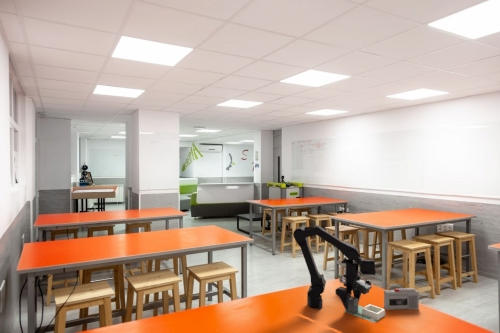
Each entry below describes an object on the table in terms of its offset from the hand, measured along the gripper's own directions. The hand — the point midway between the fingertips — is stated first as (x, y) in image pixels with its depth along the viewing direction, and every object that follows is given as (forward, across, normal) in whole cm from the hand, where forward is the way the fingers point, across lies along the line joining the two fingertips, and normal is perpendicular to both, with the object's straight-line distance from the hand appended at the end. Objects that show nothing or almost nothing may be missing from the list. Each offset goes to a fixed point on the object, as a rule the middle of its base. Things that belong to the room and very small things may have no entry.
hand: (351, 306), depth 149 cm
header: (+2, +4, -9) cm, 10 cm away
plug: (+2, 0, 0) cm, 2 cm away
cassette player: (+3, +20, -14) cm, 25 cm away
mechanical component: (+3, +16, +12) cm, 21 cm away
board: (+3, +2, -5) cm, 6 cm away
